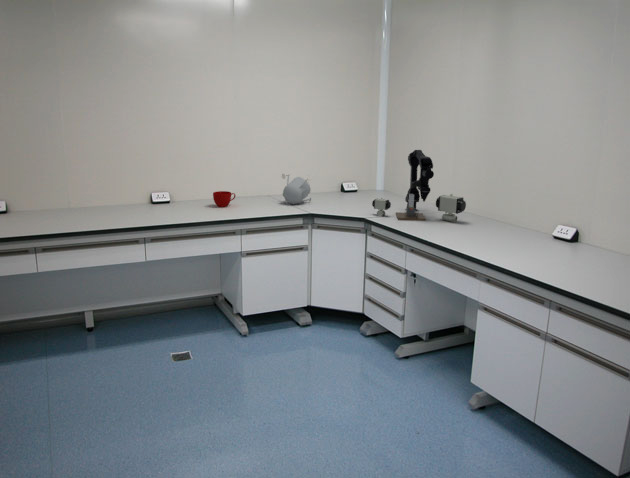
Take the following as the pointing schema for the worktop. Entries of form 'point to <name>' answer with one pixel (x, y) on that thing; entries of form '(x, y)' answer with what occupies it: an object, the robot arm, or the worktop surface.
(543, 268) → the worktop surface
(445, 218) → the ball valve
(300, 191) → the satellite
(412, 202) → the steel post
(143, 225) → the worktop surface
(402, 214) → the post stand
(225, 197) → the ceramic cup
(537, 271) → the worktop surface
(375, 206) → the pneumatic valve
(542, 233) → the worktop surface
